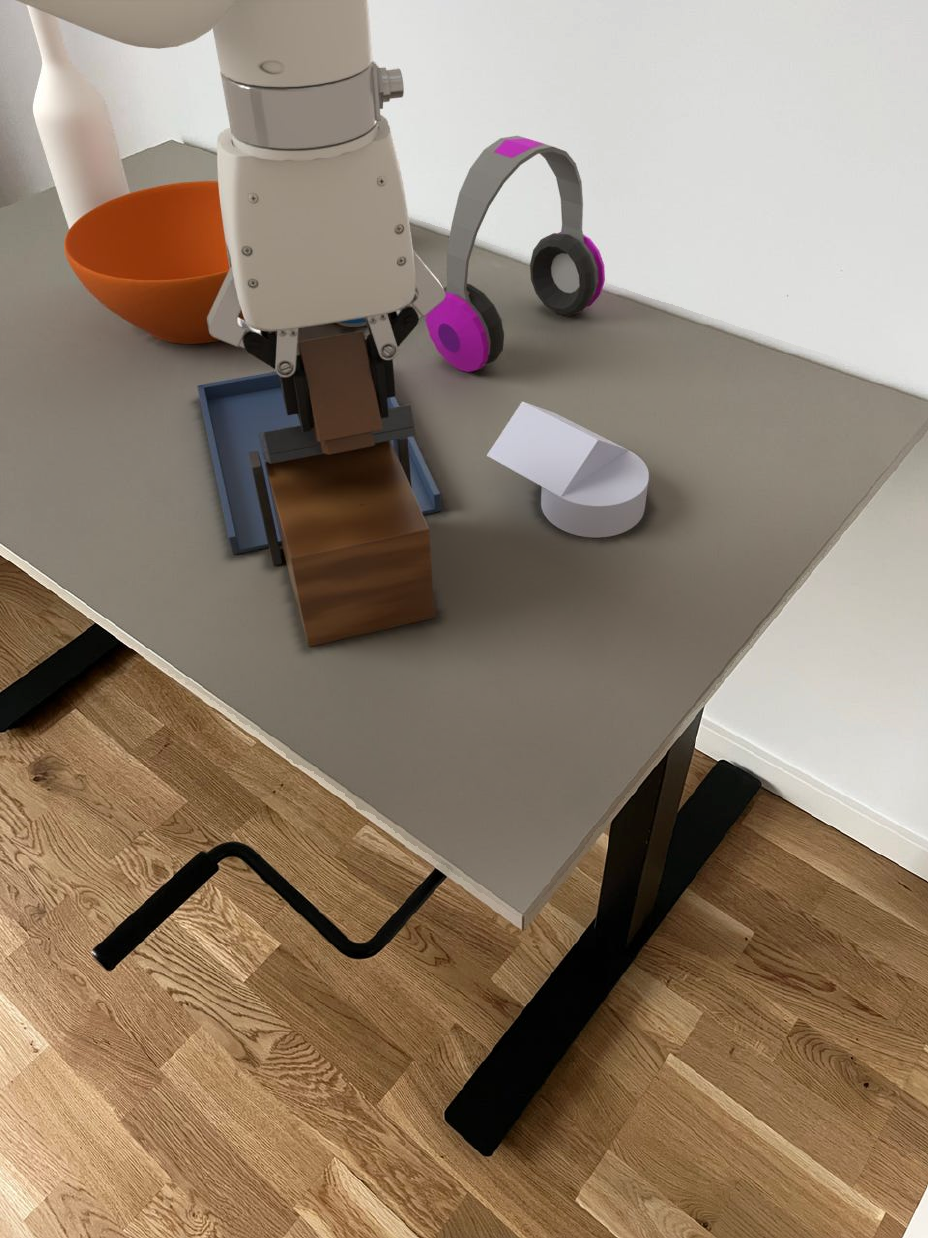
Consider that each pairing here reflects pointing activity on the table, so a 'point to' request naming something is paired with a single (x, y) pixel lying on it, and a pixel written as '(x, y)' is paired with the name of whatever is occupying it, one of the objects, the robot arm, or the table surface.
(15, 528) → the table surface
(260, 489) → the stand
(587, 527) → the wedge on round base
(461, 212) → the headphones
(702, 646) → the table surface
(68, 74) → the bottle
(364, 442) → the dark piece
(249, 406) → the tray
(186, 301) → the bowl
